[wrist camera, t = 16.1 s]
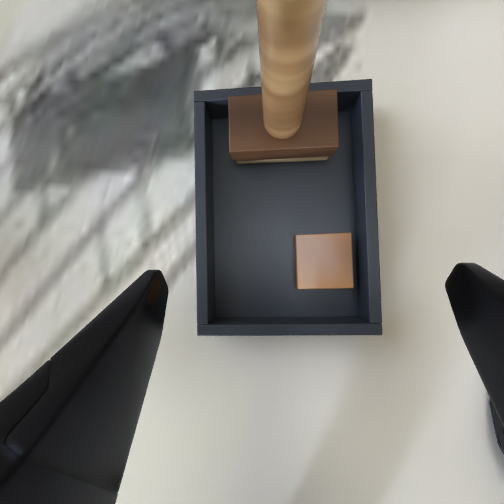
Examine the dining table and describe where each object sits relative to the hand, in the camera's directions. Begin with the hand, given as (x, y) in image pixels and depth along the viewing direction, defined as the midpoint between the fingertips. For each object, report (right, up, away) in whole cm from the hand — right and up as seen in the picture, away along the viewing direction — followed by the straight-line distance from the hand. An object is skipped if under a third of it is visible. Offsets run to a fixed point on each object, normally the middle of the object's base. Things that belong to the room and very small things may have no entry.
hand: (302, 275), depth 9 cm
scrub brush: (+1, +10, +13) cm, 16 cm away
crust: (+4, 0, +13) cm, 13 cm away
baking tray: (+1, +4, +14) cm, 14 cm away
